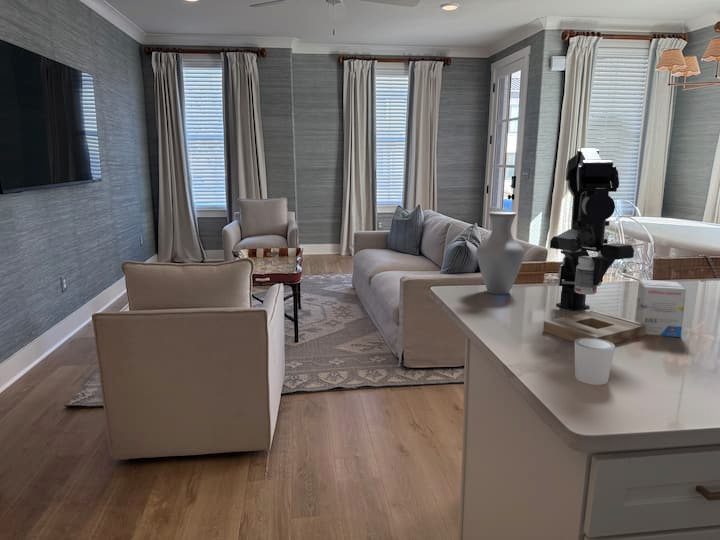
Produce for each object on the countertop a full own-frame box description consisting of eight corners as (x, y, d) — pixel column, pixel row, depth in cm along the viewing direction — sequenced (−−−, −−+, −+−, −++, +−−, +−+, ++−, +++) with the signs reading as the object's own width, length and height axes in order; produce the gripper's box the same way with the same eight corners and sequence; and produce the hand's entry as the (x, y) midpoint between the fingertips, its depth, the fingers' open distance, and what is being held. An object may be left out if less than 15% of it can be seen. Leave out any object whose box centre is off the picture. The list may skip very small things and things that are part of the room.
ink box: (672, 327, 126) (678, 280, 123) (681, 338, 118) (687, 288, 115) (633, 323, 128) (638, 278, 126) (639, 334, 121) (644, 285, 118)
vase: (474, 285, 169) (477, 210, 164) (519, 287, 166) (524, 210, 161) (475, 296, 155) (478, 214, 150) (524, 299, 152) (529, 215, 147)
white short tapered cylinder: (565, 372, 99) (567, 337, 97) (599, 370, 99) (602, 336, 98) (583, 387, 92) (586, 350, 91) (619, 385, 93) (623, 349, 91)
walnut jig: (592, 320, 131) (593, 310, 131) (645, 335, 119) (646, 324, 119) (543, 331, 123) (543, 320, 122) (594, 349, 111) (595, 337, 110)
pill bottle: (598, 295, 117) (601, 259, 116) (576, 294, 119) (579, 258, 117) (593, 290, 122) (597, 256, 120) (572, 289, 123) (575, 255, 121)
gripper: (535, 214, 121) (531, 279, 124) (603, 222, 105) (596, 296, 108) (568, 212, 126) (563, 274, 129) (639, 219, 110) (631, 290, 113)
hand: (586, 283), depth 120 cm, fingers closed on pill bottle, 5 cm apart
